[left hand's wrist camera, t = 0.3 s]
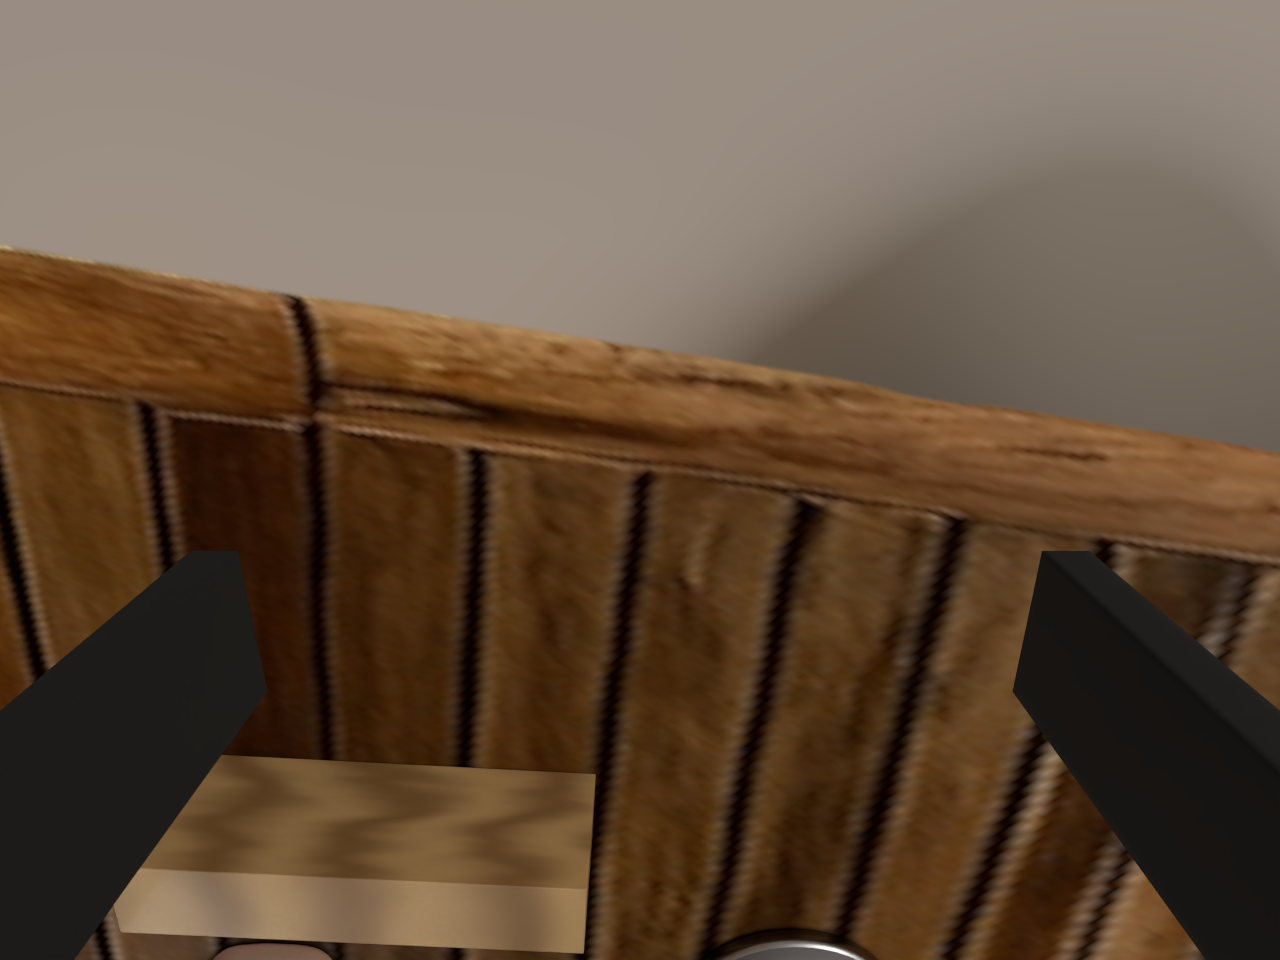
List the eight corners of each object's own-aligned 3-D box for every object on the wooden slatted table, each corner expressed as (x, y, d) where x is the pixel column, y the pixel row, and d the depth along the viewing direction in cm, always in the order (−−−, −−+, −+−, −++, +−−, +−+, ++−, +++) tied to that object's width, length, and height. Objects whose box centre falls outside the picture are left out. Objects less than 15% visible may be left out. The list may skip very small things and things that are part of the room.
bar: (595, 773, 48) (587, 890, 40) (592, 831, 50) (583, 953, 42) (191, 752, 48) (103, 866, 40) (202, 812, 49) (119, 932, 42)
